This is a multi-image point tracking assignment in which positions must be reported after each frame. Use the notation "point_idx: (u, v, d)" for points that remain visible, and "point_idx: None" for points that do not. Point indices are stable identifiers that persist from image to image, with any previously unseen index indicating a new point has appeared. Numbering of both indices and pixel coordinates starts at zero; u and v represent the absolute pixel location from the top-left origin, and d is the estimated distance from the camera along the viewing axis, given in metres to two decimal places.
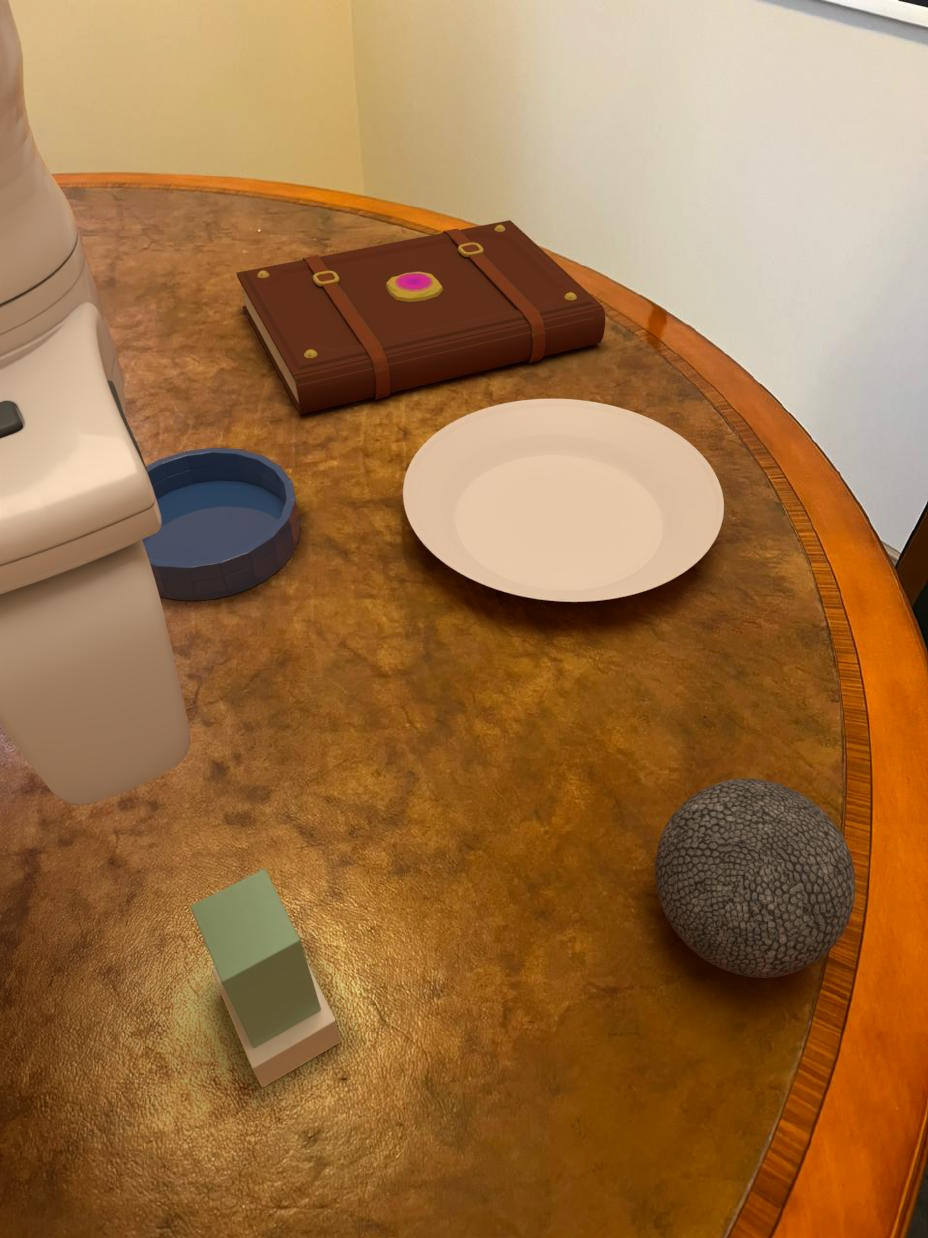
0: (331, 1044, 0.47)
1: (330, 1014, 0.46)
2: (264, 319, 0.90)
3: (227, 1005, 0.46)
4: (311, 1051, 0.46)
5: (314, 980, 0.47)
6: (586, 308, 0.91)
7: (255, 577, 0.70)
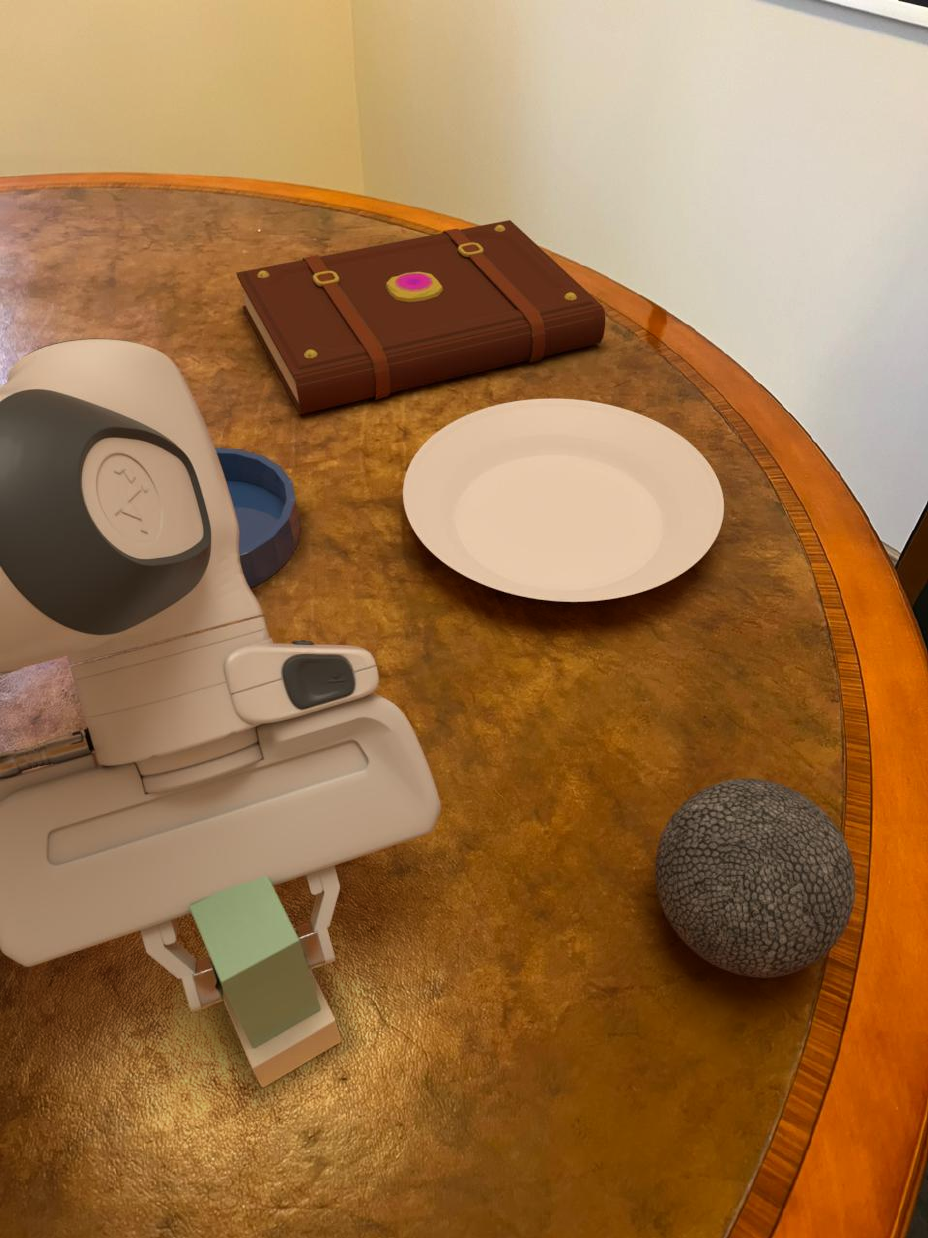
0: (330, 1044, 0.47)
1: (330, 1014, 0.46)
2: (264, 319, 0.90)
3: (227, 1005, 0.46)
4: (311, 1051, 0.46)
5: (314, 980, 0.47)
6: (586, 308, 0.91)
7: (255, 577, 0.70)
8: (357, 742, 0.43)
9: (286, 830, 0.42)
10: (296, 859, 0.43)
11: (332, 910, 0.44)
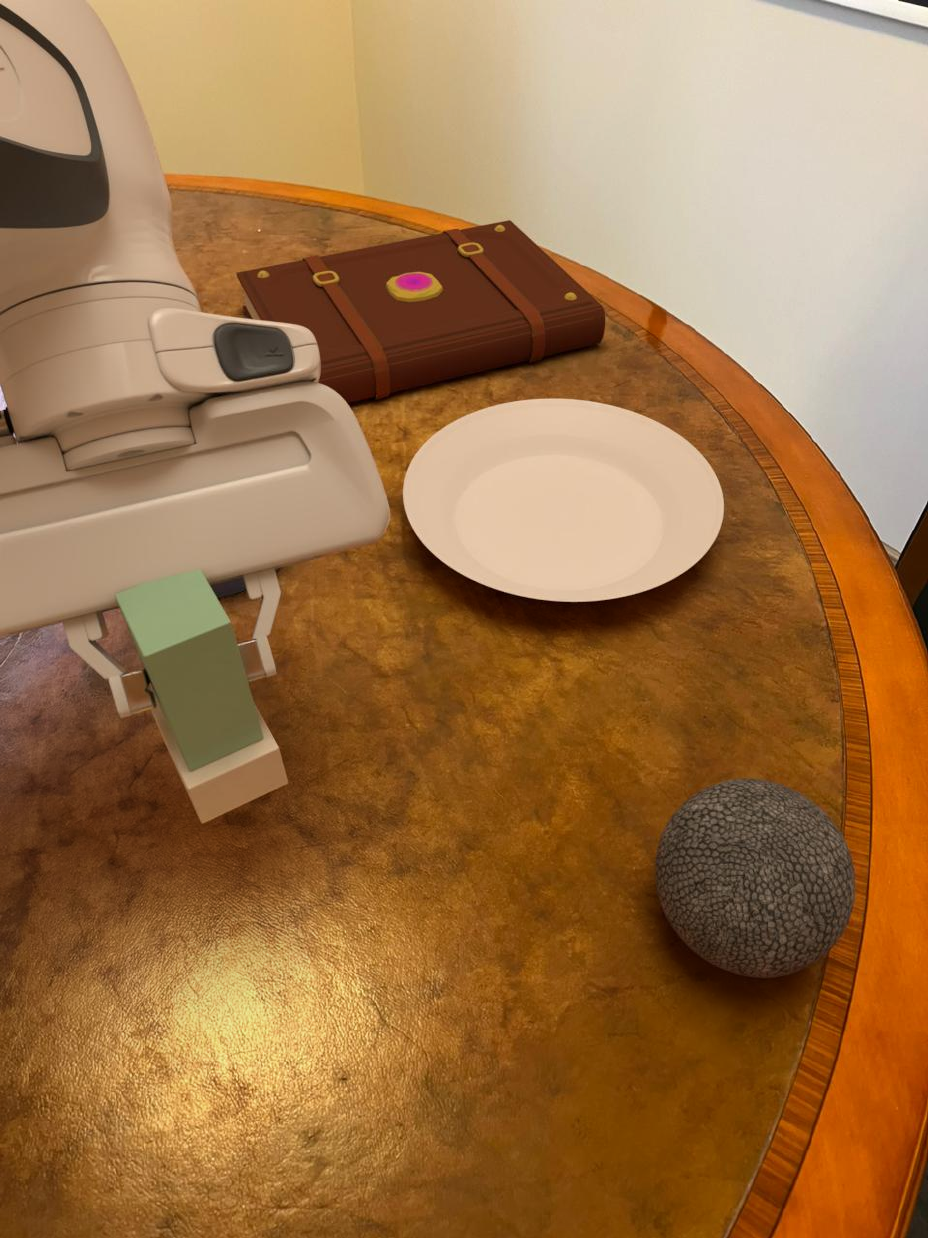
0: (276, 782, 0.44)
1: (273, 742, 0.43)
2: (264, 319, 0.90)
3: (164, 735, 0.43)
4: (254, 786, 0.44)
5: (258, 713, 0.44)
6: (586, 308, 0.91)
7: None
8: (298, 434, 0.40)
9: (221, 521, 0.40)
10: (232, 553, 0.40)
11: (272, 617, 0.41)
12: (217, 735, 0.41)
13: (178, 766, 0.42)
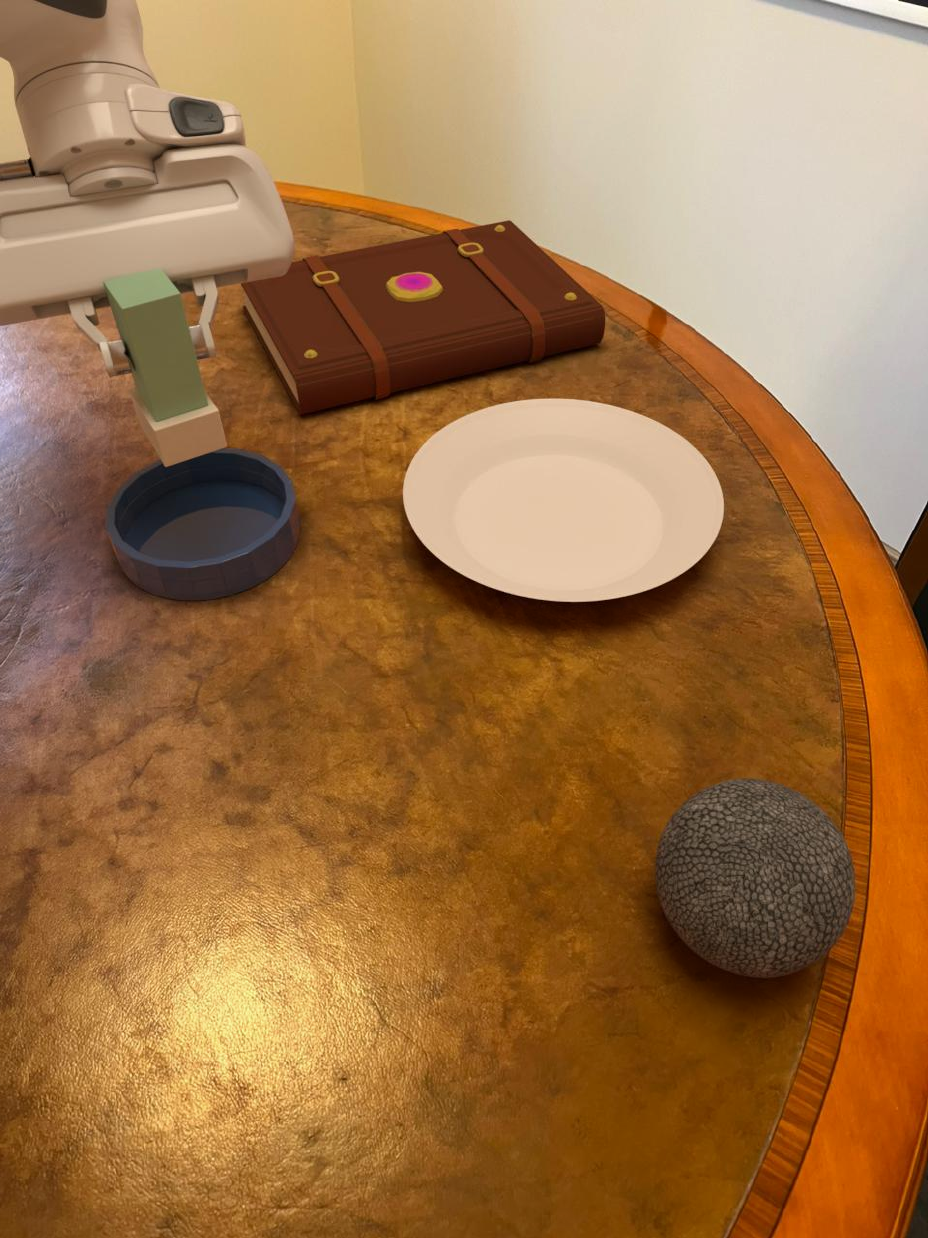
0: (218, 442, 0.63)
1: (215, 407, 0.61)
2: (264, 319, 0.90)
3: (138, 404, 0.62)
4: (202, 441, 0.62)
5: (205, 392, 0.63)
6: (586, 308, 0.91)
7: (255, 577, 0.70)
8: (229, 182, 0.59)
9: (175, 237, 0.58)
10: (183, 260, 0.58)
11: (212, 310, 0.59)
12: (174, 392, 0.60)
13: (148, 419, 0.61)
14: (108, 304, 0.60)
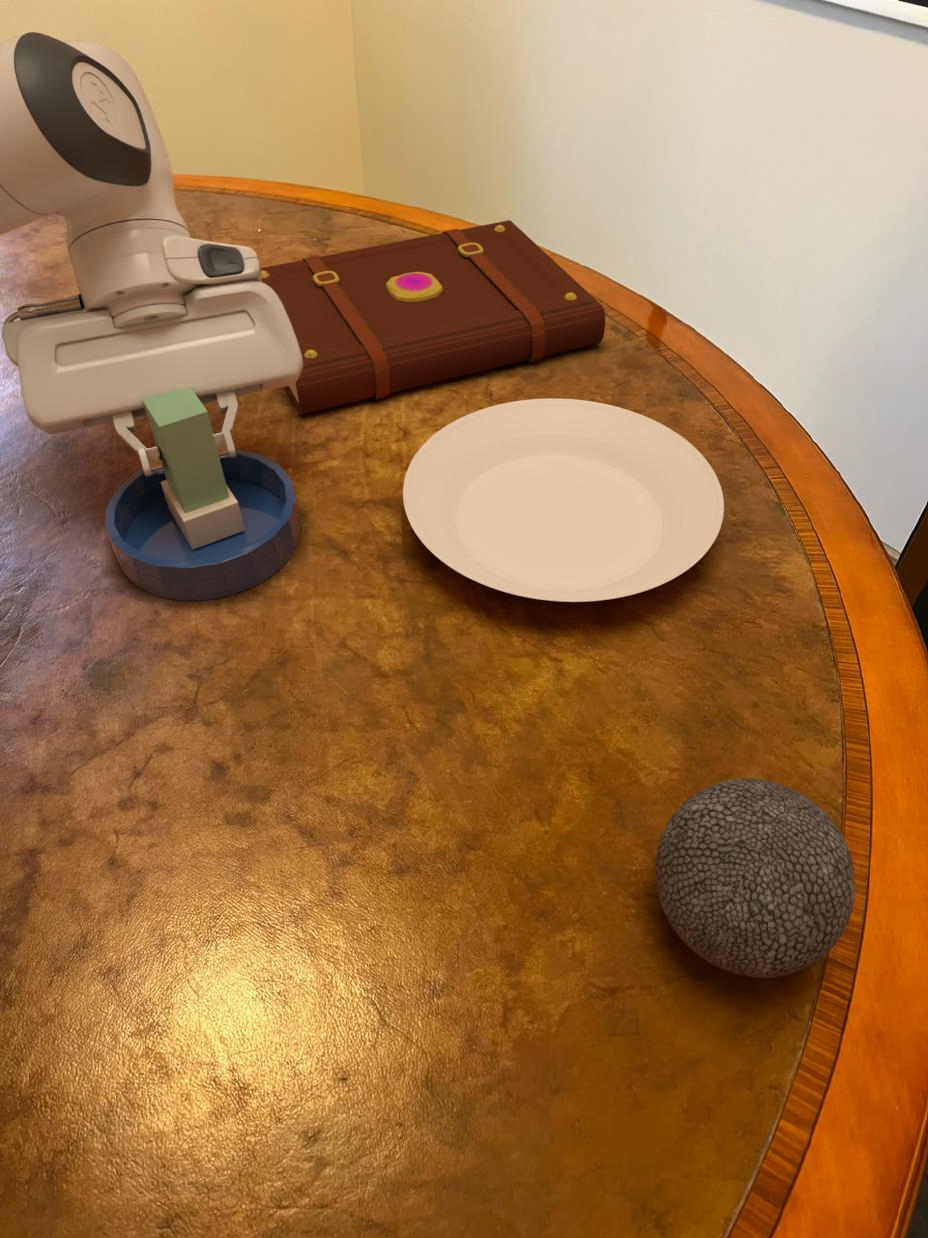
0: (237, 528, 0.73)
1: (234, 499, 0.72)
2: None
3: (169, 496, 0.72)
4: (223, 527, 0.73)
5: (226, 485, 0.73)
6: (586, 308, 0.91)
7: (255, 577, 0.70)
8: (247, 311, 0.70)
9: (202, 360, 0.69)
10: (209, 379, 0.69)
11: (233, 419, 0.70)
12: (201, 489, 0.70)
13: (178, 510, 0.71)
14: (144, 413, 0.70)
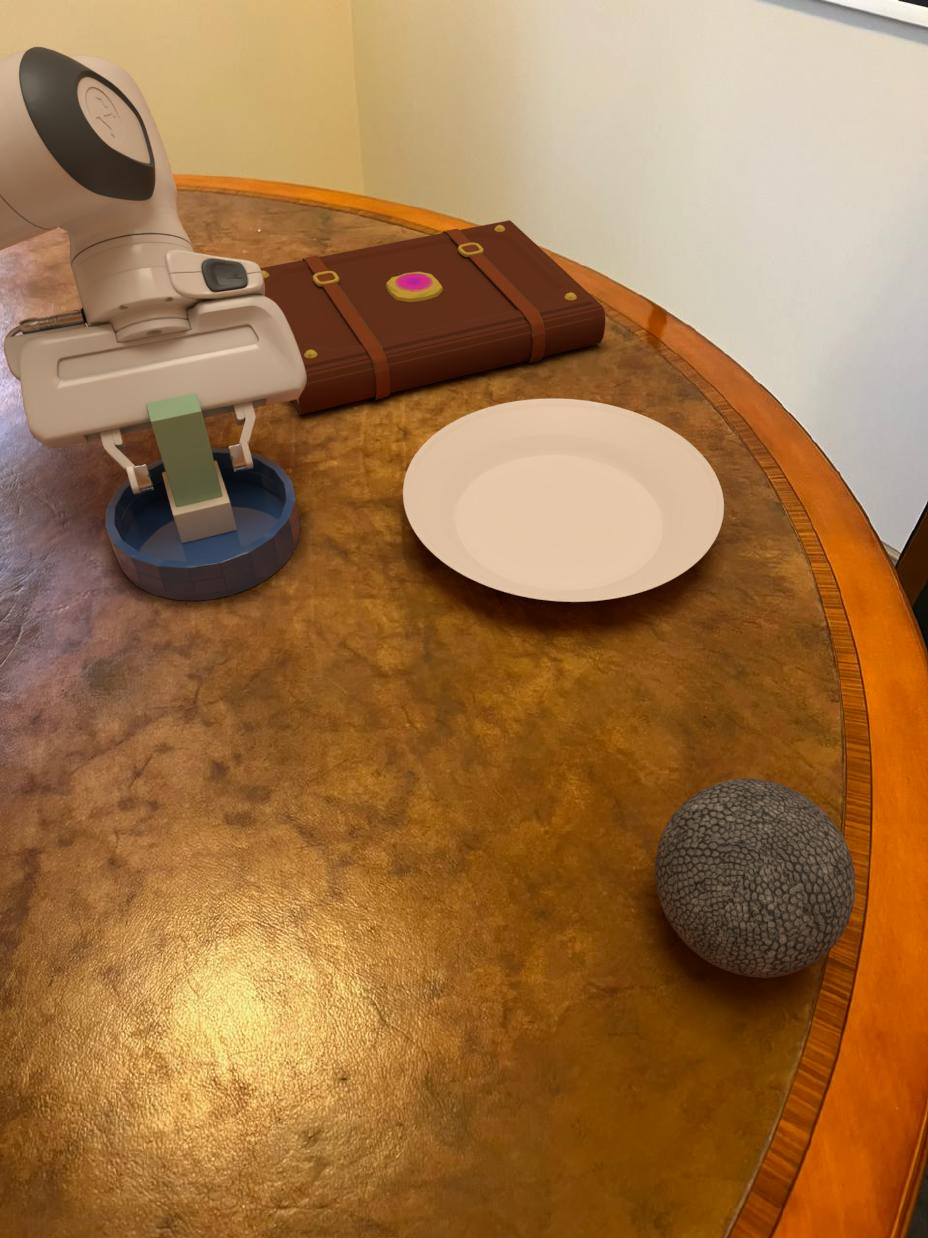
0: (228, 527, 0.74)
1: (227, 498, 0.72)
2: None
3: (166, 488, 0.73)
4: (214, 525, 0.73)
5: (223, 483, 0.73)
6: (586, 308, 0.91)
7: (255, 577, 0.70)
8: (251, 326, 0.69)
9: (206, 374, 0.68)
10: (212, 393, 0.68)
11: (250, 431, 0.70)
12: (193, 485, 0.71)
13: (170, 503, 0.72)
14: (147, 428, 0.70)
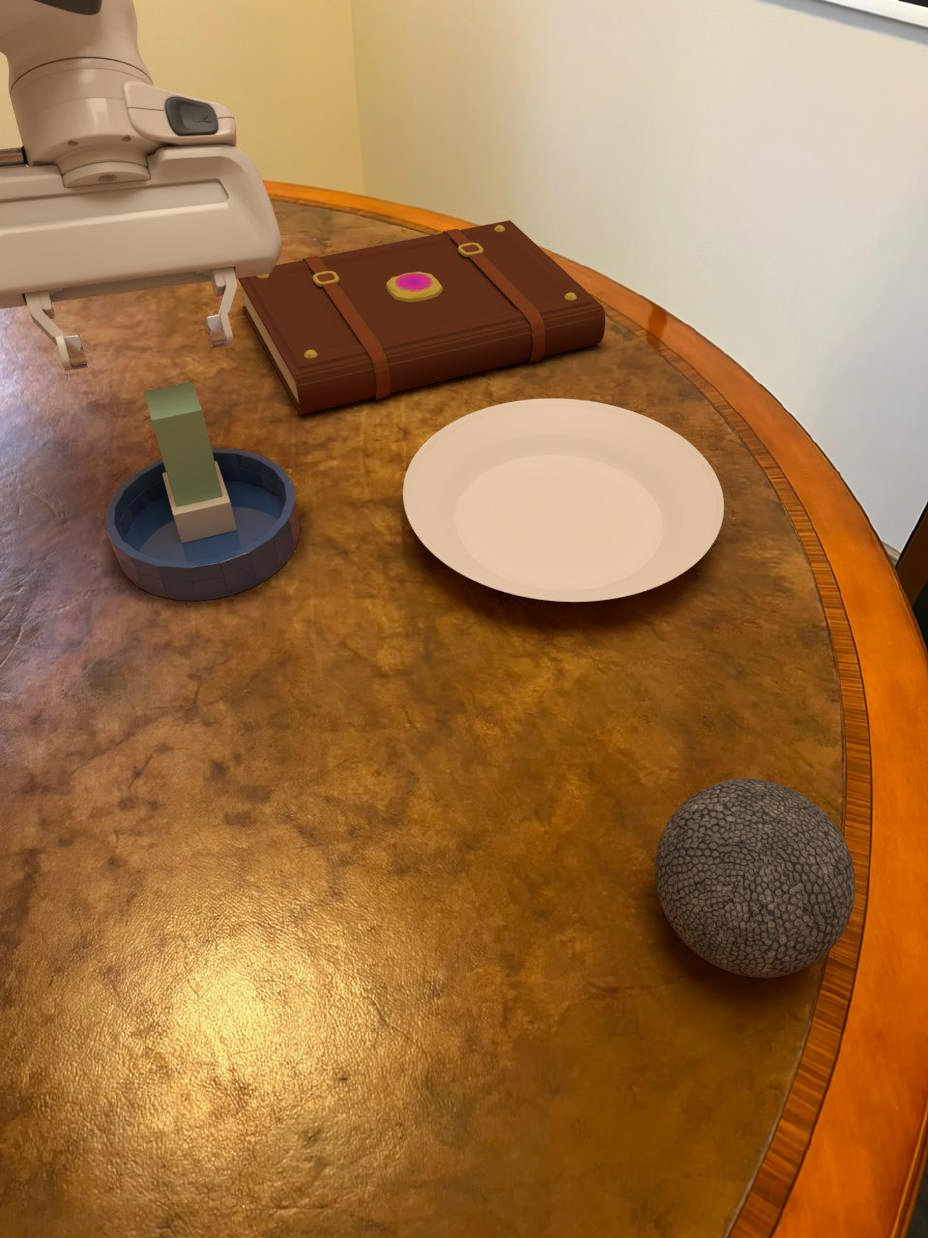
0: (228, 527, 0.74)
1: (227, 498, 0.72)
2: (264, 319, 0.90)
3: (167, 488, 0.73)
4: (214, 525, 0.73)
5: (223, 483, 0.74)
6: (586, 308, 0.91)
7: (255, 577, 0.70)
8: (220, 181, 0.61)
9: (167, 233, 0.60)
10: (173, 255, 0.60)
11: (231, 300, 0.62)
12: (193, 485, 0.71)
13: (171, 503, 0.72)
14: (96, 294, 0.61)
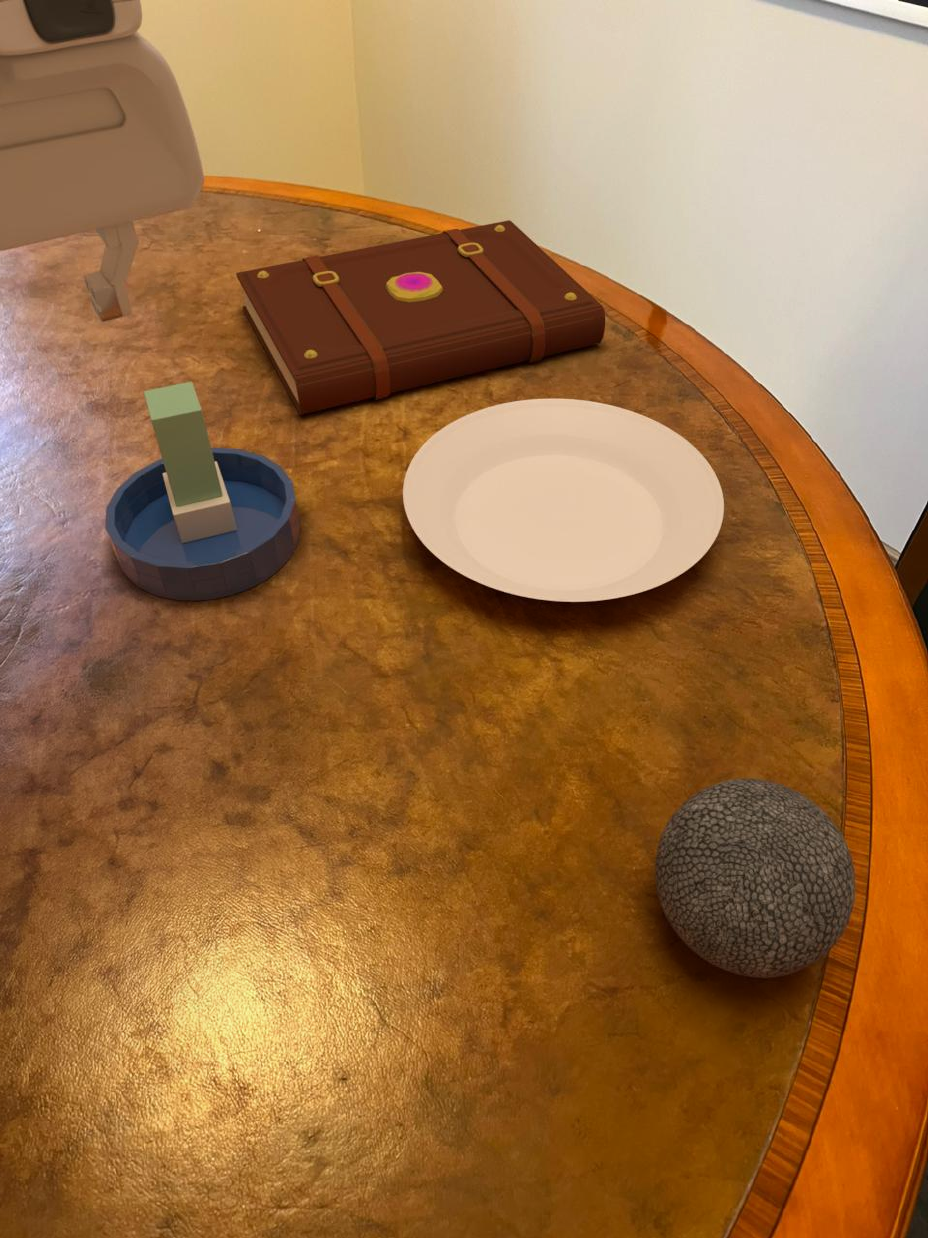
0: (228, 527, 0.74)
1: (227, 498, 0.72)
2: (264, 319, 0.90)
3: (167, 488, 0.73)
4: (214, 525, 0.73)
5: (223, 483, 0.74)
6: (586, 308, 0.91)
7: (255, 577, 0.70)
8: (111, 90, 0.38)
9: (32, 186, 0.38)
10: (45, 221, 0.39)
11: (129, 265, 0.43)
12: (193, 485, 0.71)
13: (171, 503, 0.72)
14: None
